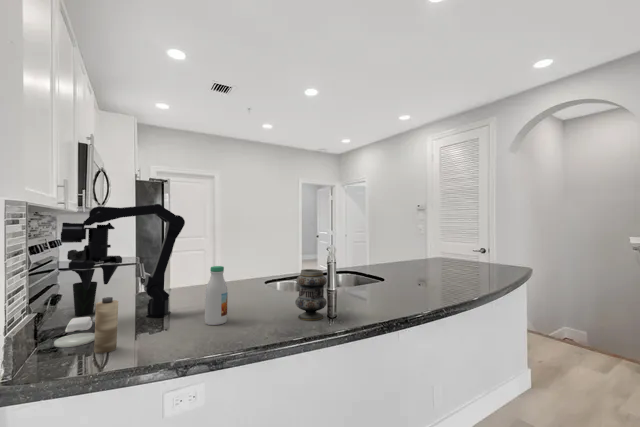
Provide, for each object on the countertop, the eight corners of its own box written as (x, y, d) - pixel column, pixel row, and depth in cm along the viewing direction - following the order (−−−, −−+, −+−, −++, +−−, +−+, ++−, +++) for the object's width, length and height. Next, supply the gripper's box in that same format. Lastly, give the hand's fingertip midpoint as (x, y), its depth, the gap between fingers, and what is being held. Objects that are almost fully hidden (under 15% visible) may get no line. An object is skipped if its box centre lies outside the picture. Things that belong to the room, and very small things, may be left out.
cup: (82, 317, 117) (84, 285, 118) (66, 316, 119) (67, 284, 119) (101, 312, 125) (102, 281, 125) (85, 311, 126) (86, 281, 127)
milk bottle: (214, 327, 108) (215, 268, 109) (199, 323, 112) (201, 266, 113) (231, 321, 114) (232, 266, 115) (217, 318, 119) (218, 264, 119)
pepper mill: (120, 346, 90) (122, 296, 91) (108, 353, 85) (110, 300, 85) (102, 345, 90) (104, 295, 91) (89, 353, 85) (91, 300, 86)
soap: (69, 326, 109) (69, 317, 109) (93, 323, 112) (93, 315, 112) (63, 333, 101) (64, 324, 101) (89, 330, 104) (90, 321, 104)
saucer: (104, 335, 99) (104, 332, 99) (79, 347, 89) (79, 344, 89) (72, 335, 99) (72, 332, 99) (44, 347, 89) (44, 344, 89)
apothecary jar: (332, 317, 121) (333, 270, 122) (311, 324, 112) (311, 273, 113) (310, 311, 130) (311, 267, 130) (288, 317, 121) (289, 270, 122)
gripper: (94, 240, 120) (93, 281, 120) (52, 243, 102) (50, 291, 101) (123, 241, 120) (122, 282, 120) (86, 243, 102) (84, 292, 101)
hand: (96, 286), depth 110 cm, fingers open, 9 cm apart
